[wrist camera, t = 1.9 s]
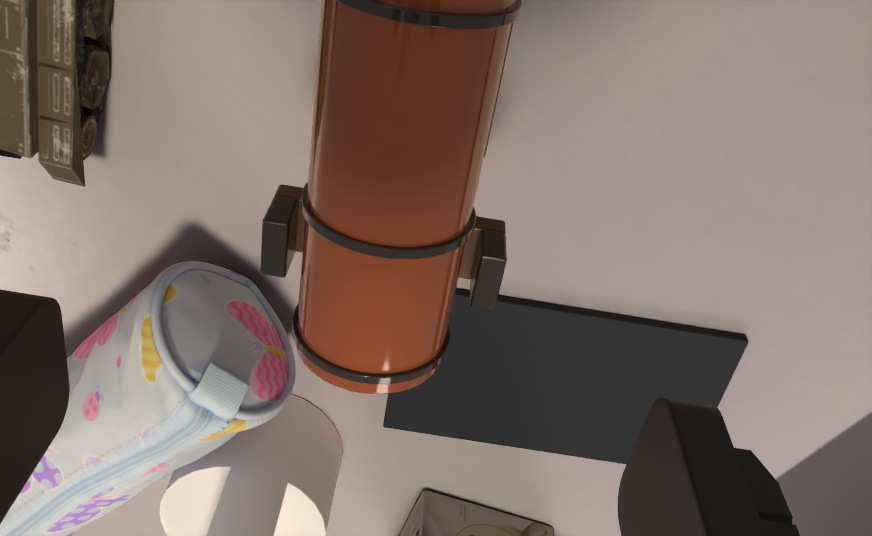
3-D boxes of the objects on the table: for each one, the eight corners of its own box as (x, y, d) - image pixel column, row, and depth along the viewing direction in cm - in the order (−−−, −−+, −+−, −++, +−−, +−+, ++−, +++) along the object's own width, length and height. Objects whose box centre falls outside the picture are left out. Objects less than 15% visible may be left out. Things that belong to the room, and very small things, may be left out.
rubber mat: (746, 334, 41) (749, 341, 41) (683, 466, 47) (686, 473, 46) (407, 280, 41) (406, 286, 40) (384, 420, 46) (383, 427, 46)
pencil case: (91, 498, 50) (0, 626, 41) (-17, 404, 47) (-139, 521, 39) (330, 337, 42) (276, 455, 34) (214, 215, 39) (125, 310, 31)
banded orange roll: (563, -237, 18) (585, -236, 14) (449, 311, 27) (442, 410, 23) (354, -277, 18) (316, -287, 14) (307, 288, 27) (274, 384, 23)
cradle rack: (562, -200, 29) (613, -173, 17) (489, 148, 36) (491, 325, 25) (362, -237, 29) (281, -236, 17) (330, 121, 36) (258, 288, 25)
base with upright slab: (208, 369, 45) (128, 546, 35) (360, 413, 46) (326, 597, 36) (182, 472, 49) (105, 655, 39) (320, 509, 51) (280, 696, 41)
